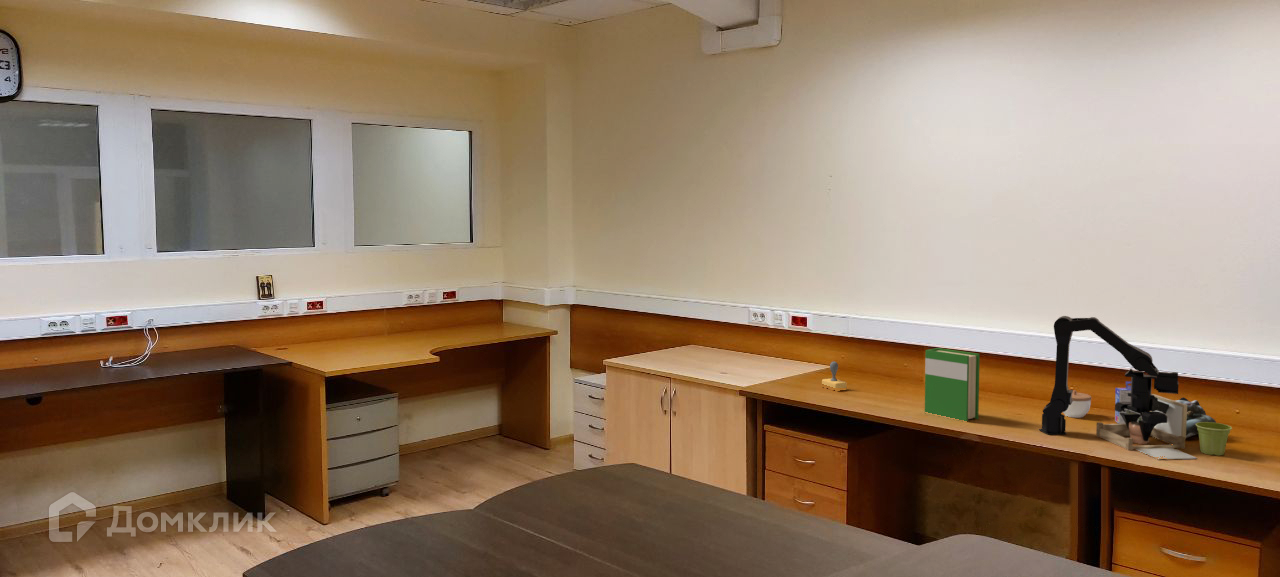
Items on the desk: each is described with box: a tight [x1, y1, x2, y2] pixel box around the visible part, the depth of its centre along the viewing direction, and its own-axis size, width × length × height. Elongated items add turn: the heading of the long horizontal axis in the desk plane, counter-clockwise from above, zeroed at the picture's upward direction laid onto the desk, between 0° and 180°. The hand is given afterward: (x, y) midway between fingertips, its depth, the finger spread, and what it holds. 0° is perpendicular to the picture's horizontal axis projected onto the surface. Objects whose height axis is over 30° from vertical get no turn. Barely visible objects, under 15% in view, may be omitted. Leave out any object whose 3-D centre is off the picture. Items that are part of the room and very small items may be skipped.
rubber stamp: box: [821, 361, 847, 389], centre depth 372 cm, size 10×6×12 cm, turn 25°
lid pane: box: [1150, 393, 1187, 440], centre depth 282 cm, size 1×16×11 cm, turn 3°
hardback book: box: [924, 347, 981, 422], centre depth 320 cm, size 18×7×24 cm, turn 35°
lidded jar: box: [1062, 390, 1092, 419], centre depth 318 cm, size 11×11×9 cm
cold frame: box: [1095, 422, 1186, 451], centre depth 282 cm, size 18×17×5 cm
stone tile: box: [1135, 448, 1198, 460], centre depth 267 cm, size 12×11×1 cm
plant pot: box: [1196, 422, 1233, 456], centre depth 268 cm, size 9×9×9 cm
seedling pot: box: [1129, 418, 1150, 445], centre depth 282 cm, size 6×6×8 cm
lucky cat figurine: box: [1175, 397, 1217, 439], centre depth 289 cm, size 15×12×14 cm
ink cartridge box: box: [1114, 380, 1143, 424], centre depth 306 cm, size 10×6×14 cm, turn 78°
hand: (1139, 438), depth 282 cm, fingers closed on seedling pot, 6 cm apart
